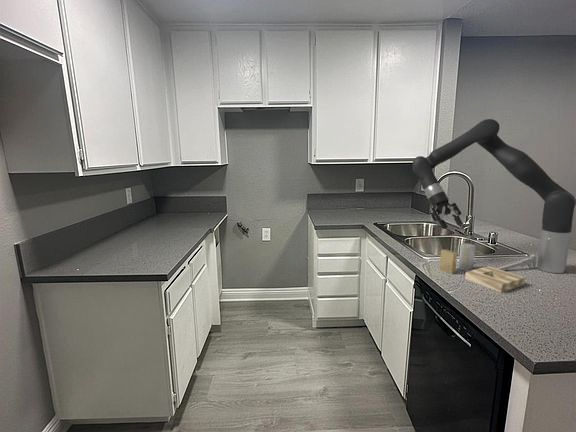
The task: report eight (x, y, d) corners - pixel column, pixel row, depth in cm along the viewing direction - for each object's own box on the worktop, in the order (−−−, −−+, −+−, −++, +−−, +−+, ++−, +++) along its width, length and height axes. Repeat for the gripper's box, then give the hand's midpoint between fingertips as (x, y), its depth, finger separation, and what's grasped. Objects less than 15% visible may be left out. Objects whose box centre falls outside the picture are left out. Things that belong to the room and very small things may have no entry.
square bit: (464, 267, 137) (466, 243, 135) (473, 269, 133) (475, 245, 131) (458, 268, 135) (460, 244, 133) (466, 271, 132) (469, 246, 129)
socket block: (487, 272, 129) (488, 266, 129) (524, 284, 117) (525, 277, 116) (465, 279, 124) (465, 272, 123) (501, 292, 111) (501, 284, 111)
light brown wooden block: (442, 268, 135) (444, 249, 134) (455, 273, 130) (456, 253, 128) (439, 269, 135) (441, 249, 133) (451, 274, 129) (453, 253, 127)
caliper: (533, 267, 134) (534, 254, 133) (535, 268, 133) (537, 254, 132) (492, 272, 131) (493, 258, 130) (494, 272, 130) (495, 258, 129)
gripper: (442, 196, 147) (458, 227, 142) (419, 201, 143) (435, 232, 137) (453, 188, 141) (471, 220, 135) (429, 193, 136) (446, 226, 130)
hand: (452, 226), depth 136 cm, fingers open, 8 cm apart
